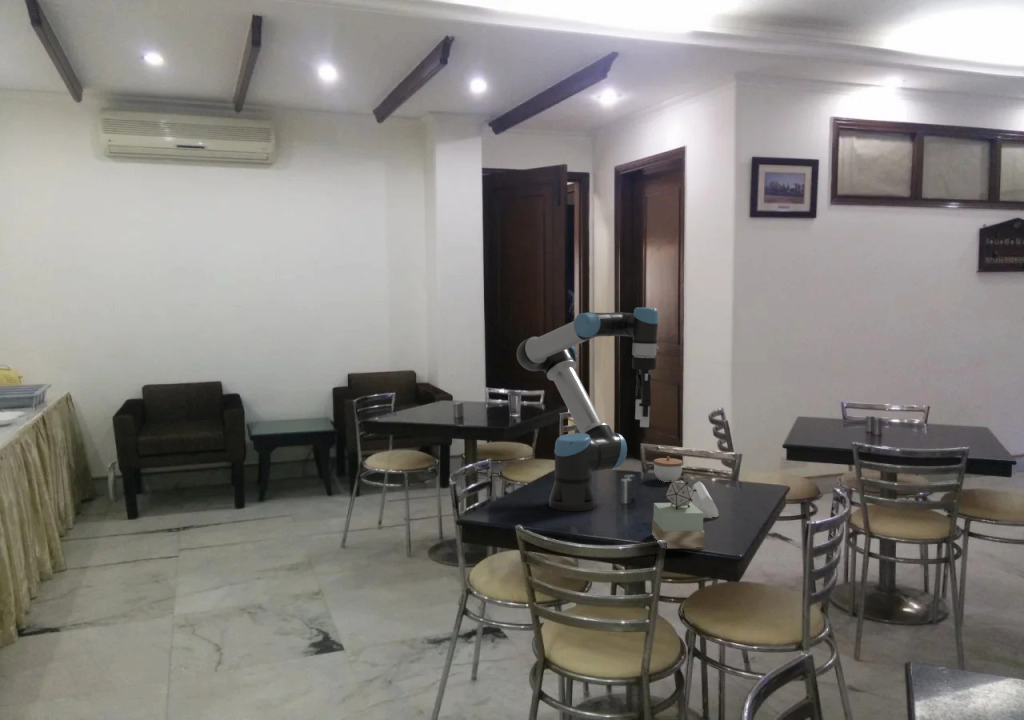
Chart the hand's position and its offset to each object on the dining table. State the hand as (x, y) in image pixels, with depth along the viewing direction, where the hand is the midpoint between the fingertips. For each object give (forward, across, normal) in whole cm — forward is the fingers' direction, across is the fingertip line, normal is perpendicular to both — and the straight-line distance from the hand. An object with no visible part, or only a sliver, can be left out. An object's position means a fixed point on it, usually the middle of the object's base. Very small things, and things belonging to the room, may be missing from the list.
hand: (641, 423), depth 239 cm
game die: (+19, -30, -8) cm, 36 cm away
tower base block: (+28, -30, -8) cm, 42 cm away
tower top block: (+24, -30, -7) cm, 39 cm away
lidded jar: (+30, +44, -16) cm, 55 cm away
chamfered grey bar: (+29, +5, -21) cm, 36 cm away
